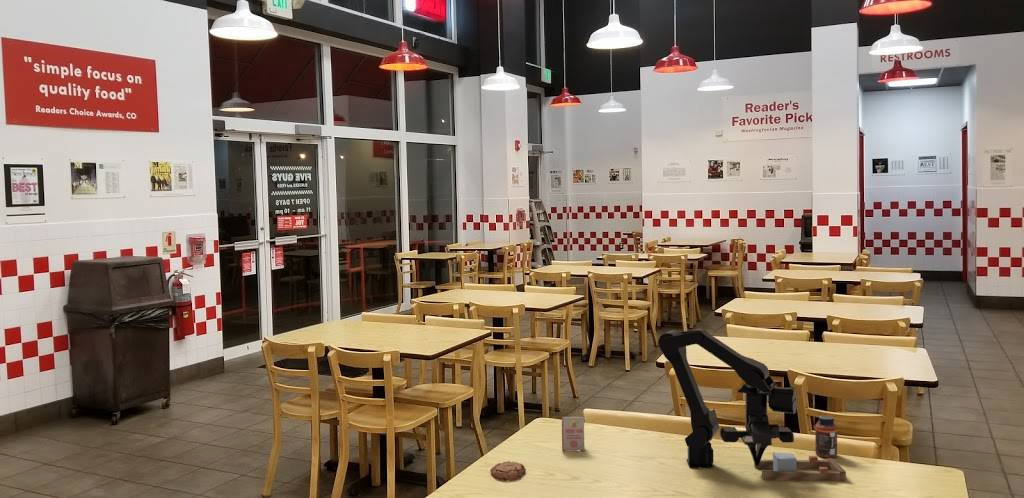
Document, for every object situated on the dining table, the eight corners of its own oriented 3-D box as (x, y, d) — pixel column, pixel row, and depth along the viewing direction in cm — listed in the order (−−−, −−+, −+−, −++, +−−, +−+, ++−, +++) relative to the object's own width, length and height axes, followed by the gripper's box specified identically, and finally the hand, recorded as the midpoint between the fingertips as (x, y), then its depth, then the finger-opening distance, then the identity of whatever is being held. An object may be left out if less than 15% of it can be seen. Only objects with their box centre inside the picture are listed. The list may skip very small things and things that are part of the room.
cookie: (494, 483, 216) (494, 472, 216) (488, 470, 227) (487, 460, 227) (530, 480, 218) (530, 469, 218) (522, 467, 229) (521, 457, 229)
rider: (777, 476, 216) (777, 458, 216) (773, 470, 221) (773, 453, 221) (796, 477, 216) (796, 458, 215) (791, 470, 221) (791, 453, 220)
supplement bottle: (839, 459, 230) (839, 420, 229) (817, 458, 231) (817, 419, 230) (835, 452, 235) (835, 414, 235) (813, 451, 237) (813, 414, 236)
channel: (763, 480, 214) (763, 468, 213) (754, 466, 224) (754, 455, 224) (845, 480, 212) (845, 468, 212) (832, 467, 223) (832, 455, 223)
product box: (562, 447, 246) (561, 415, 246) (584, 447, 246) (583, 415, 245) (562, 450, 242) (561, 418, 242) (584, 451, 242) (583, 418, 241)
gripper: (727, 417, 211) (727, 475, 212) (799, 417, 209) (799, 475, 210) (719, 406, 222) (720, 461, 223) (788, 406, 220) (788, 461, 221)
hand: (756, 465), depth 219 cm, fingers closed
